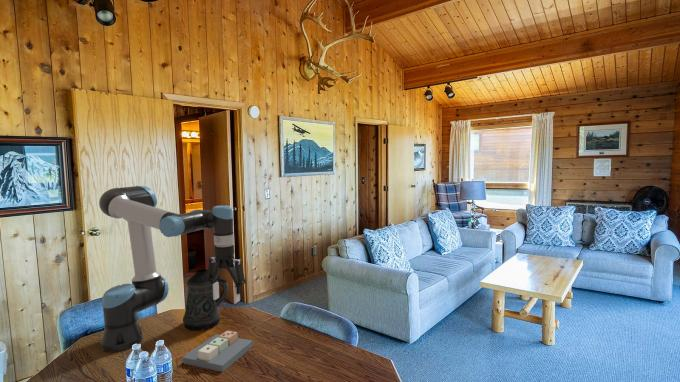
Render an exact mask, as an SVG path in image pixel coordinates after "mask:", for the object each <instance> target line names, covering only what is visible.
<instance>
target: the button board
mask: <svg viewBox="0 0 680 382" xmlns="http://www.w3.org/2000/svg"><path fill="white" fill-rule="evenodd" d="M220 335H221V334H217V333H215V334H214V335H212V336H211V337H210V338H208V339H207V340H205V341H204V342H203V343H201V344H199V345H198V346H196V347H195V348H193V349H192V350H191V351H190V352H188V353H186V354H185V355H183V356H182V358H181V359H182V364H183V363H184V365H189V366H193V367H198V368H202V369H207V370H211V371H216V372H220V373H224V371H226V370H227V369H228V368H230V367H231V366H232V365H233V364H234V363H235V362H237V361H238V360H239V359H240V358H242V356H244V355H245V354H246V353H247V352H248V351H249V350H250V349H252V348H253V347H254V341H253V340H252V339H251V340H250V339H245V338H240V337H238V340H237V341H236V342H234V343H233V344H232V345H230V346H229V345H228V348H227V349H225V350H224V351H223V352H221V353H218V356H216V357H215V358H214V359H212V360H211V361H210V362H209V361H204V360H199V359H198V351H199V350H200V349H201V348H203V347H204V346H206V345H209V343H210V342H211V341H213V340H214V339H216V338H217V337H219V336H220Z"/></svg>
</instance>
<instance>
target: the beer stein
mask: <svg viewBox="0 0 680 382" xmlns="http://www.w3.org/2000/svg"><path fill="white" fill-rule="evenodd" d="M207 275H208V269H198V270H196V271H195V273H193V275H192V276H190V277H189V278H188V279H187V281H186V285H187V287H188V290H187V295H186V297H187V299H186V307H185V311H184V315H183V317H182V323H183V327H184V328H183V329H185V330H187V331H190V332H201V331H207V330H210V329H213V328H215V327H217V326H218V325H219V324H220V321H221V311H220V310H219V307H218V306H219V305H220V304H221V303H222V302H223V301H224V300H225V298H226V296H227V294H228V291H229V284H228V280H226V279H225V278H224V277H220V276H219V277H218V279H217V280H218V281H216V282H219V286H222V289H223V290H222V292H221V293H220V294H219V298H218V299H216V300H213V291H212V287H211V283H210V282H208V281H207Z"/></svg>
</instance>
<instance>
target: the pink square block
mask: <svg viewBox="0 0 680 382" xmlns="http://www.w3.org/2000/svg"><path fill="white" fill-rule="evenodd" d="M219 335H220V336H219V338H224V339H228V345H229V346H230V345H232V344H233V343H234V342H236V341H237V340H238V338H239V337H238V332H237V331H232V330H226V331H225V332H223V333H221V334H219Z"/></svg>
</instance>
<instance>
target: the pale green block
mask: <svg viewBox="0 0 680 382" xmlns="http://www.w3.org/2000/svg"><path fill="white" fill-rule="evenodd" d="M209 345H212V346H218V353H221V352H223V351H224V350H225V349H227V348H228V339H224V338H219V337H217V338H216V339H214V340H213V341H211V342H210V343H209Z"/></svg>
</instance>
